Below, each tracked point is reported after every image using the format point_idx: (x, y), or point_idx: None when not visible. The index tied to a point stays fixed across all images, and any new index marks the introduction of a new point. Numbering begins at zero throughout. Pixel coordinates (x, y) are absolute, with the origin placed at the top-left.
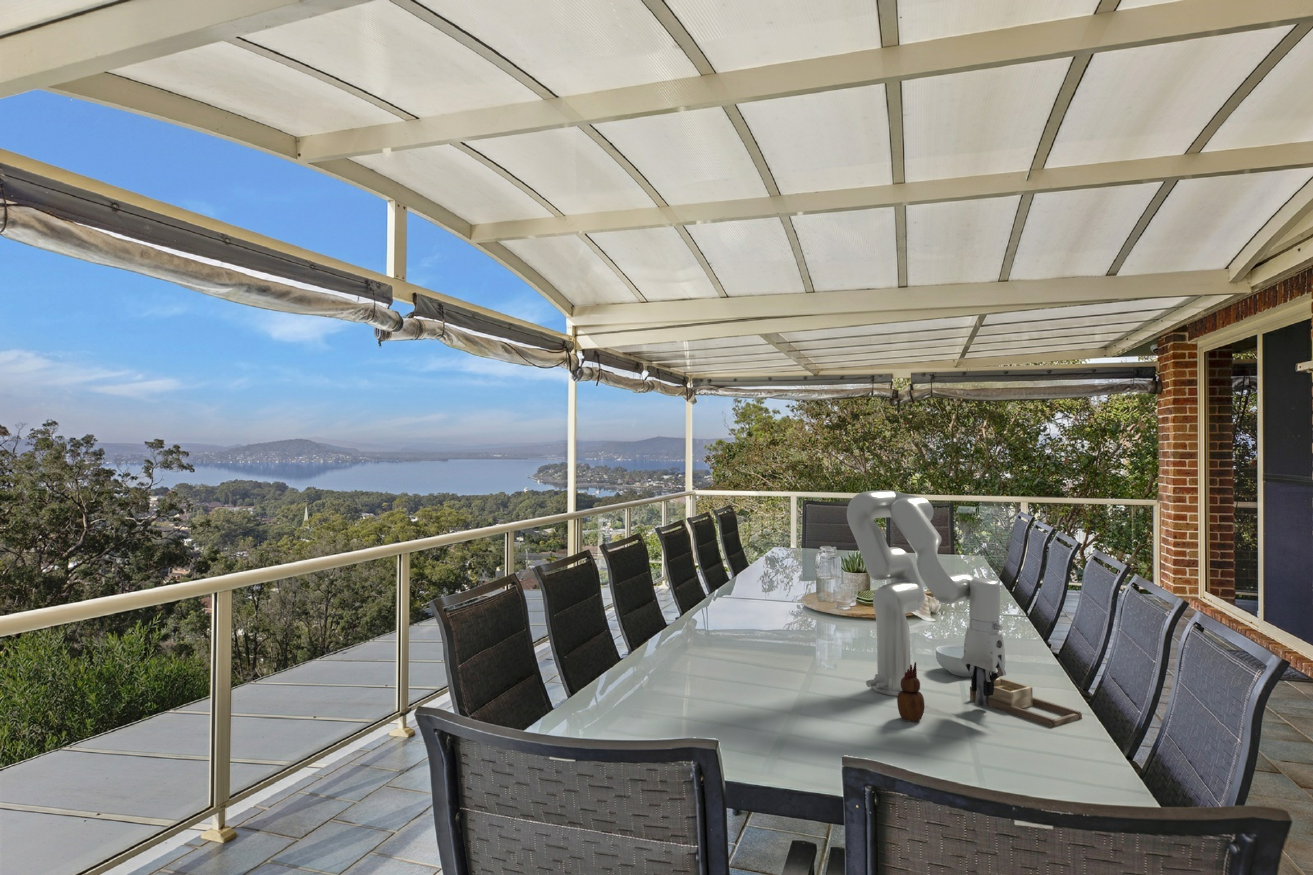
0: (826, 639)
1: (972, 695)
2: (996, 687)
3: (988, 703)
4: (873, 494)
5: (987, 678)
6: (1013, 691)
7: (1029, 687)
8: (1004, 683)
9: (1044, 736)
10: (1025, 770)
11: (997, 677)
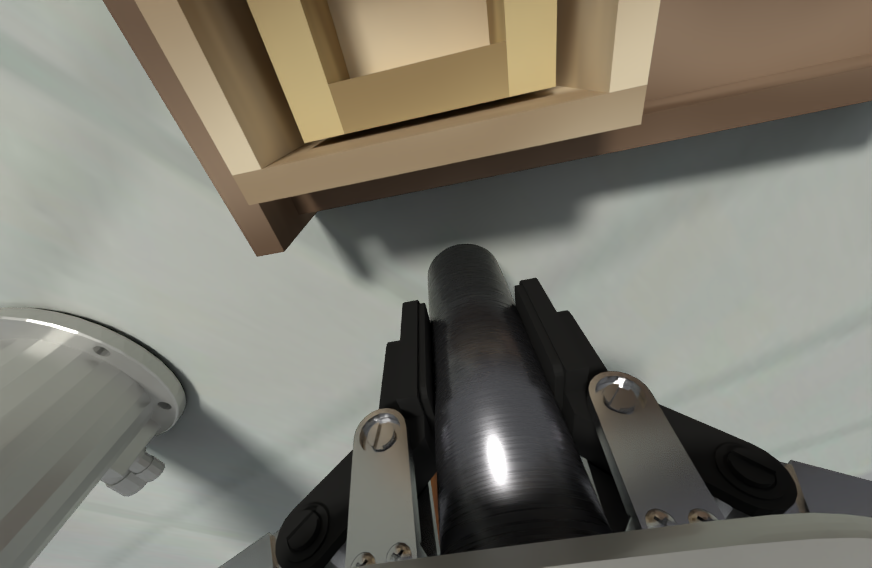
0: None
1: (301, 225)
2: (437, 150)
3: (495, 262)
4: None
5: (600, 465)
6: (639, 59)
7: None
8: None
9: (847, 181)
10: (839, 424)
11: (712, 442)
